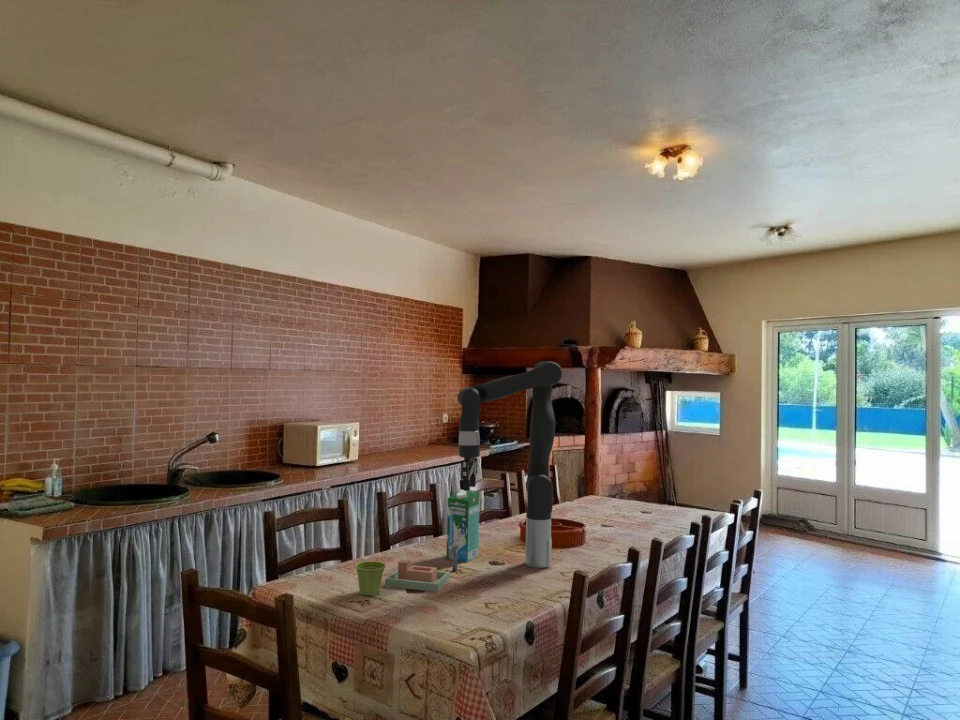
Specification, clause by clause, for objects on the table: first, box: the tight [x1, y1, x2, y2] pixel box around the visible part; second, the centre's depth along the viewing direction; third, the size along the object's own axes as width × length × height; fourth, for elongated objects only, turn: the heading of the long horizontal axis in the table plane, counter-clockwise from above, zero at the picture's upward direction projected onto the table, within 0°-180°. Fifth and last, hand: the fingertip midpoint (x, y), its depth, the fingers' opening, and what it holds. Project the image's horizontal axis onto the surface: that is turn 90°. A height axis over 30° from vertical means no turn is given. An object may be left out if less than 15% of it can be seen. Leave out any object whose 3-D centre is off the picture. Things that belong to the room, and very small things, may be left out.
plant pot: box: [354, 560, 387, 597], centre depth 194 cm, size 9×9×9 cm
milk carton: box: [445, 488, 481, 563], centre depth 236 cm, size 9×9×25 cm
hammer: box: [452, 546, 459, 572], centre depth 219 cm, size 2×5×8 cm, turn 166°
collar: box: [397, 559, 438, 583], centre depth 205 cm, size 12×6×6 cm, turn 76°
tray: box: [384, 568, 451, 593], centre depth 205 cm, size 18×13×2 cm
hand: (469, 488), depth 222 cm, fingers open, 8 cm apart
